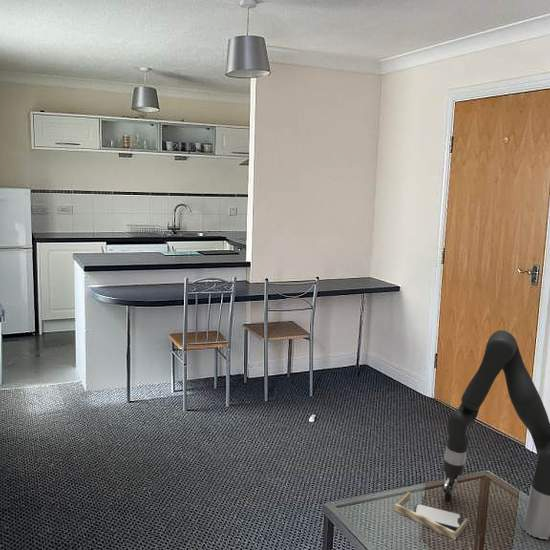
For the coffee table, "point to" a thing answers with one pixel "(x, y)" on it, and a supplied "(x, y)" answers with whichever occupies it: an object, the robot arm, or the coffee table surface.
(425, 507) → the smartphone
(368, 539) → the coffee table surface
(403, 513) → the wood frame
